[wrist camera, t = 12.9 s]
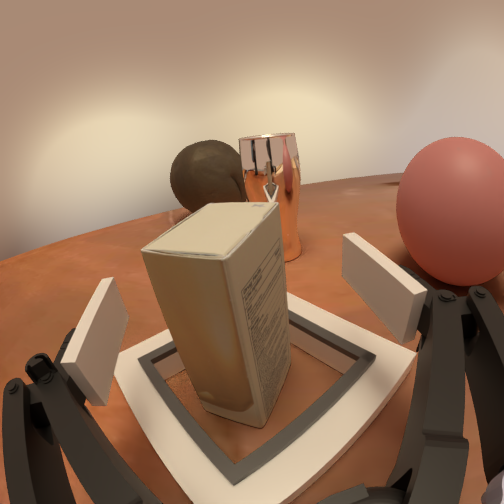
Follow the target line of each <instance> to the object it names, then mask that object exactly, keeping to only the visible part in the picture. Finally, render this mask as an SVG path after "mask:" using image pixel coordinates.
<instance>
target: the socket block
mask: <svg viewBox="0 0 504 504" xmlns="http://www.w3.org/2000/svg"><path fill="white" fill-rule="evenodd" d="M287 302H288V316H289V332H290V342H291V343H292V344H294V345H295V346H297V347H299V348H300V349H302V350H304V351H305V352H307V353H309V354H310V355H312V356H313V357H315V358H317V359H318V360H320V361H322V362H324V363H325V364H327V365H329V366H330V367H332V368H334V369H335V370H337V371H339V372H341V373H342V374H344V375H343V376H342V377H341V378H340V379H339V380H338V381H337V382H336V383H335V384H334V385H333V386H332V387H330V388H329V389H328V390H327V391H326V392H325V393H324V394H323V395H322V396H321V397H320V398H319V399H318V400H317V401H315V402H314V403H313V404H312V405H311V406H310V407H309V408H308V409H307V410H305V411H304V412H303V413H302V414H301V415H300V416H298V417H297V418H296V419H295V420H294V421H293V422H291V423H290V424H289V425H288V426H286V427H285V428H284V429H283V430H281V431H280V432H279V433H278V434H276V435H275V436H274V437H273V438H271V439H270V440H269V441H267V442H266V443H265V444H263V445H262V446H261V447H259V448H258V449H257V450H255V451H254V452H252V453H251V454H250V455H248V456H247V457H245V458H244V459H242V460H241V461H239V462H238V463H236V464H234V463H233V462H232V461H231V460H230V459H229V458H228V457H227V456H226V455H225V454H224V453H223V452H222V451H221V449H220V448H219V447H218V446H217V445H216V444H215V443H214V442H213V441H212V440H211V438H210V437H209V436H208V435H207V434H206V433H205V432H204V430H203V429H202V428H201V427H200V426H199V424H198V423H197V422H196V421H195V420H194V418H193V417H192V416H191V415H190V414H189V412H188V411H187V410H186V408H185V407H184V406H183V405H182V403H181V402H180V401H179V399H178V398H177V397H176V396H175V394H174V393H173V392H172V390H171V389H170V387H169V386H168V385H167V383H166V382H165V381H164V380H166V379H168V378H170V377H171V376H173V375H175V374H177V373H179V372H181V371H182V370H184V369H185V367H184V365H183V362H182V360H181V358H180V355H179V353H178V351H177V348H176V346H175V344H174V341H173V339H172V336H171V334H170V331H169V329H167V330H165V331H163V332H161V333H159V334H157V335H155V336H153V337H151V338H149V339H147V340H145V341H143V342H141V343H139V344H137V345H135V346H133V347H131V348H129V349H127V350H125V351H123V352H121V353H119V355H118V359H117V363H116V367H115V371H114V375H115V377H116V379H117V381H118V384H119V386H120V388H121V390H122V392H123V394H124V396H125V398H126V400H127V402H128V404H129V406H130V408H131V409H132V411H133V413H134V415H135V417H136V419H137V420H138V422H139V424H140V426H141V428H142V429H143V431H144V433H145V434H146V436H147V438H148V439H149V441H150V443H151V444H152V446H153V447H154V449H155V451H156V452H157V454H158V455H159V457H160V458H161V460H162V461H163V463H164V464H165V466H166V467H167V469H168V470H169V471H170V473H171V474H172V476H173V477H174V478H175V480H176V481H177V483H178V484H179V485H180V487H181V488H182V489H183V491H184V492H185V493H186V494H187V496H188V497H189V498H190V499H191V501H192V502H193V503H194V504H289V503H290V502H291V501H293V500H294V499H295V498H296V497H298V496H299V495H300V494H301V493H302V492H304V491H305V490H306V489H307V488H308V487H309V486H311V485H312V484H313V483H314V482H315V481H316V480H317V479H318V478H319V477H321V476H322V475H323V474H324V473H325V472H326V471H327V470H328V469H329V468H330V467H331V466H332V465H333V464H334V463H335V462H336V461H337V460H338V459H339V458H340V457H341V456H342V455H343V454H344V453H345V452H346V451H347V450H348V449H349V448H350V447H351V446H352V445H353V444H354V442H355V441H356V440H357V439H358V438H359V437H360V436H361V435H362V433H363V432H364V431H365V430H366V429H367V428H368V426H369V425H370V424H371V423H372V422H373V420H374V419H375V418H376V417H377V416H378V414H379V413H380V412H381V411H382V409H383V408H384V407H385V405H386V404H387V403H388V401H389V400H390V399H391V397H392V396H393V395H394V393H395V392H396V391H397V389H398V388H399V386H400V385H401V383H402V382H403V381H404V379H405V378H406V376H407V375H408V373H409V372H410V369H411V366H412V364H413V361H414V359H415V356H416V353H415V352H413V351H411V350H408V349H406V348H404V347H402V346H400V345H397V344H395V343H393V342H391V341H389V340H387V339H384V338H382V337H380V336H378V335H376V334H374V333H372V332H369V331H367V330H365V329H363V328H361V327H359V326H357V325H355V324H352V323H350V322H348V321H346V320H344V319H342V318H340V317H338V316H336V315H333V314H331V313H329V312H327V311H325V310H323V309H321V308H319V307H317V306H315V305H313V304H311V303H309V302H307V301H304V300H302V299H300V298H298V297H296V296H294V295H292V294H290V293H288V292H287Z"/></svg>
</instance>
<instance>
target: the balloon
mask: <svg viewBox="0 0 504 504" xmlns="http://www.w3.org/2000/svg"><path fill="white" fill-rule="evenodd" d="M396 212H397V221H398V226H399V230H400V234H401V237H402V239H403V242H404V244H405V246H406V248H407V250H408V251H409V253H410V255H411V256H412V258H413V259H414V260H415V261H416V263H417V264H418V265H419V266H420V267H421V268H422V269H423V270H424V271H426V272H427V273H428V274H429V275H431V276H432V277H434V278H436V279H438V280H440V281H442V282H444V283H447V284H451V285H456V286H473V285H478V284H482V283H484V282H487V281H489V280H491V279H492V278H494V277H496V276H497V275H498V274H500V273H501V272H502V271H503V270H504V159H503V158H502V157H501V156H500V155H499V154H498V153H497V152H496V151H495V150H493V149H492V148H490V147H489V146H487V145H485V144H484V143H481V142H479V141H476V140H473V139H470V138H464V137H449V138H444V139H441V140H438V141H435V142H433V143H431V144H429V145H428V146H426V147H425V148H423V149H422V150H421V151H420V152H419V153H417V154H416V155H415V157H414V158H413V159H412V160H411V162H410V163H409V164H408V166H407V168H406V169H405V171H404V173H403V176H402V178H401V181H400V184H399V188H398V193H397V203H396Z"/></svg>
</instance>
